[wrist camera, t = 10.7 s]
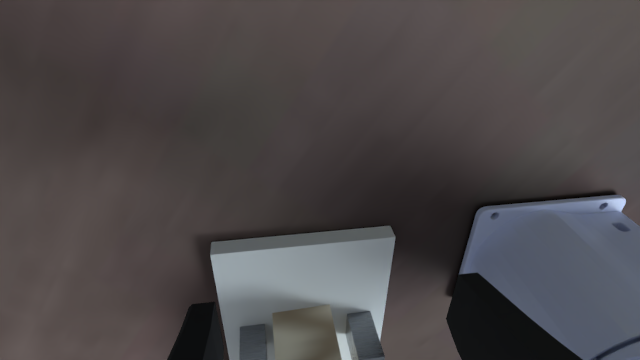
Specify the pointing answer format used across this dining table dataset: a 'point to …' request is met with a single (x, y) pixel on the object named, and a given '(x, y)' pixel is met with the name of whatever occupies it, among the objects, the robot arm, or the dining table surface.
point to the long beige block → (305, 334)
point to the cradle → (304, 287)
